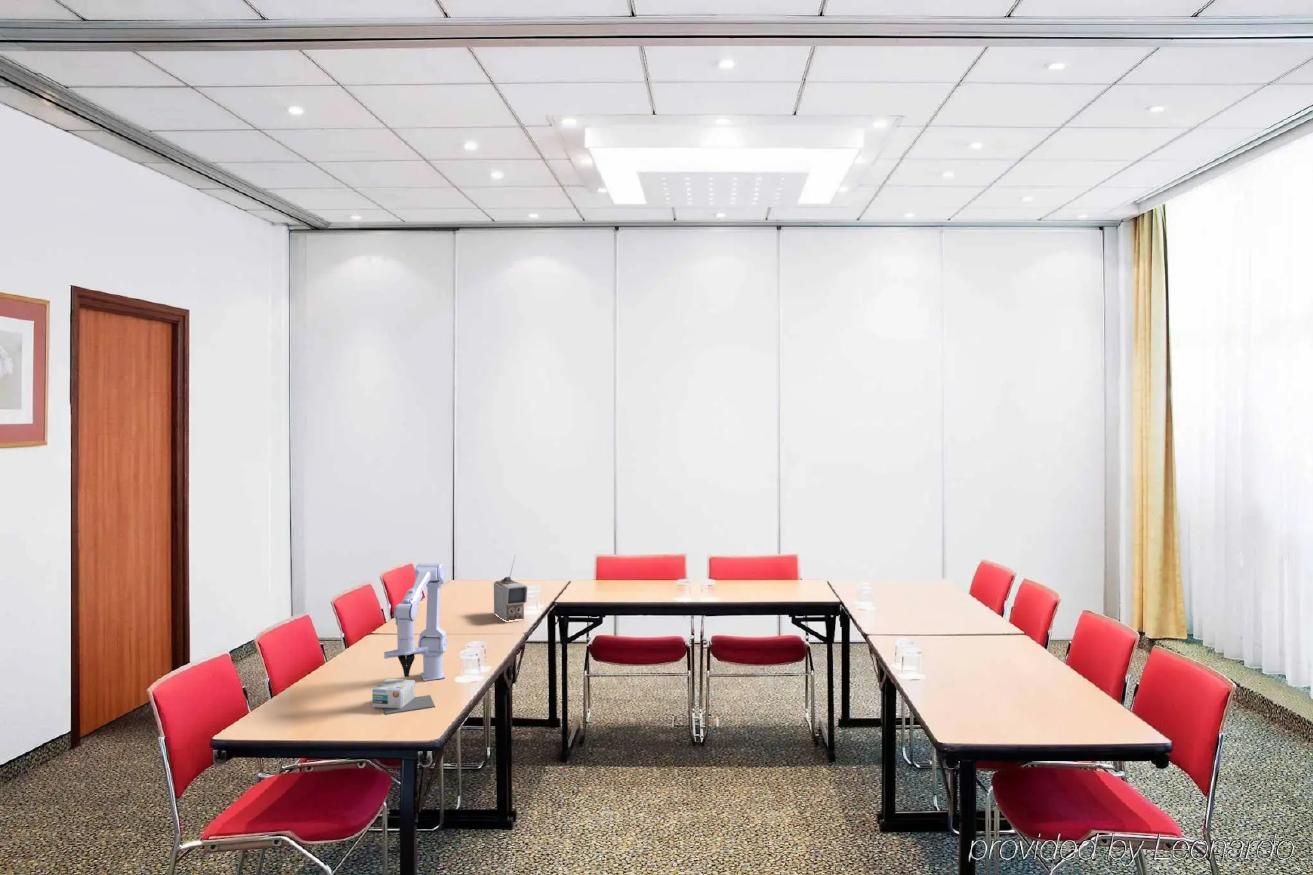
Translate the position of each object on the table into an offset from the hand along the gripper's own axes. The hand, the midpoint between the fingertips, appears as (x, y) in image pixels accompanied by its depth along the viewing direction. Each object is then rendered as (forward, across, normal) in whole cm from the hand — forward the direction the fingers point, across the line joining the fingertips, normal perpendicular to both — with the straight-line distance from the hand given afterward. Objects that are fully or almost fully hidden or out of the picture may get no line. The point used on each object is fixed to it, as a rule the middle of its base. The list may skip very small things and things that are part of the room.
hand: (406, 676), depth 271 cm
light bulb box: (+5, -2, +2) cm, 5 cm away
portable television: (+9, +61, +100) cm, 118 cm away
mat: (+8, 0, -6) cm, 10 cm away
